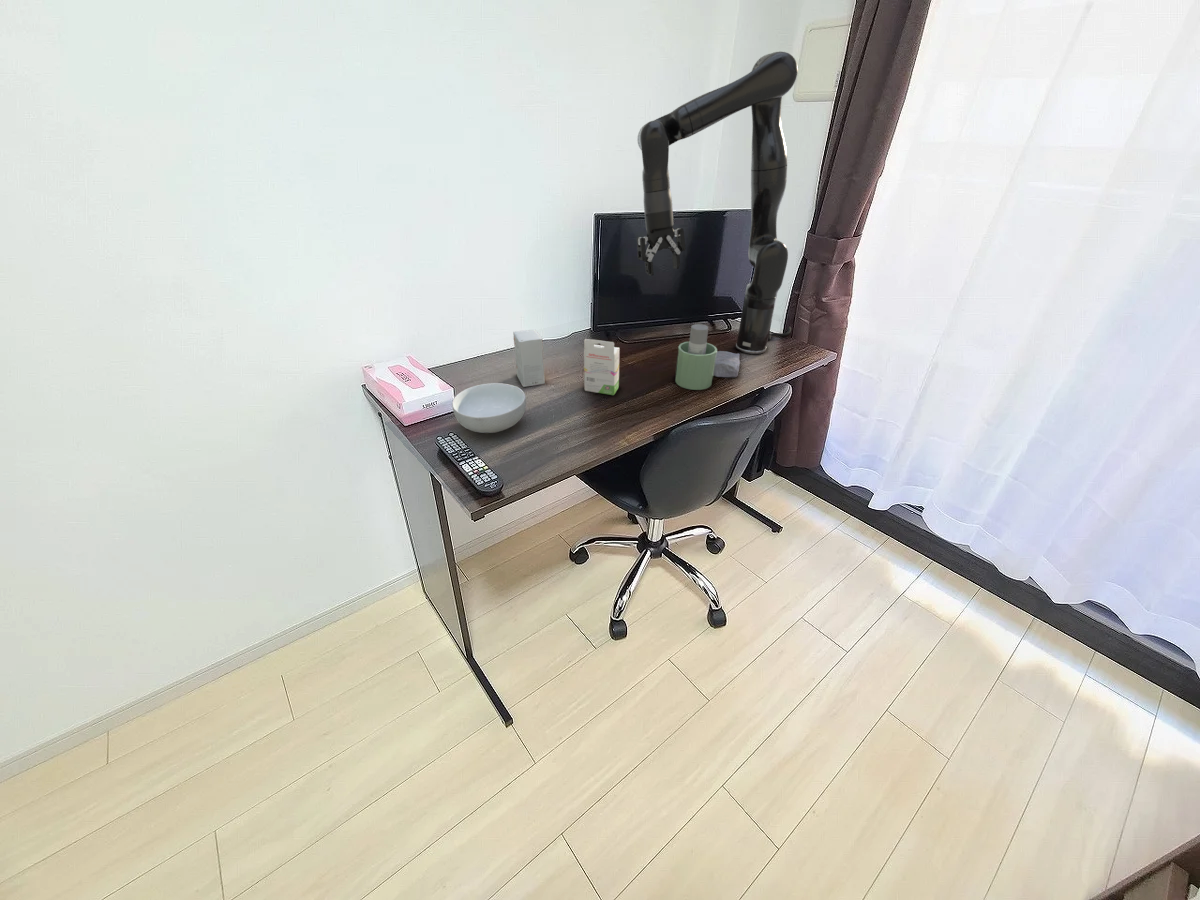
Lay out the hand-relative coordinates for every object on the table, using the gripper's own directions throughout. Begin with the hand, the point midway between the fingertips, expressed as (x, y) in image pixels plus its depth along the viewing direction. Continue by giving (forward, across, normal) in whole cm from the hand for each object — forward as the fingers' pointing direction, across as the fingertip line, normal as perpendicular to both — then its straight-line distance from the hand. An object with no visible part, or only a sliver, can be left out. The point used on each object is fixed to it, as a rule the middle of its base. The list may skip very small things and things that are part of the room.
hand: (663, 271), depth 141 cm
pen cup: (+27, +4, +18) cm, 33 cm away
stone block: (+28, -8, +14) cm, 33 cm away
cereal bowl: (+21, +61, +17) cm, 67 cm away
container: (+27, +4, +18) cm, 32 cm away
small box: (+20, +44, -3) cm, 49 cm away
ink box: (+24, +29, +11) cm, 39 cm away
